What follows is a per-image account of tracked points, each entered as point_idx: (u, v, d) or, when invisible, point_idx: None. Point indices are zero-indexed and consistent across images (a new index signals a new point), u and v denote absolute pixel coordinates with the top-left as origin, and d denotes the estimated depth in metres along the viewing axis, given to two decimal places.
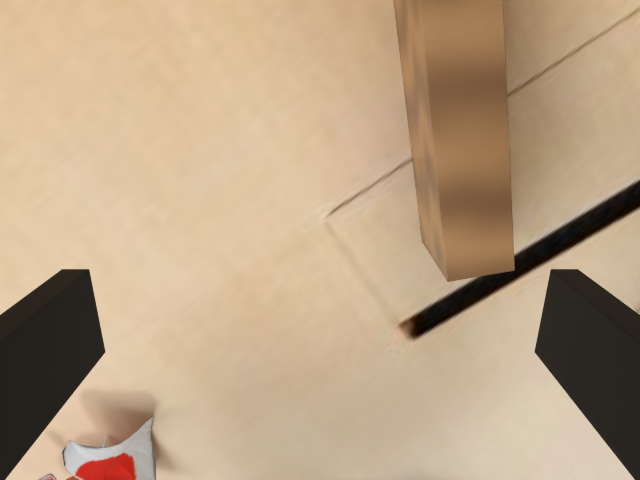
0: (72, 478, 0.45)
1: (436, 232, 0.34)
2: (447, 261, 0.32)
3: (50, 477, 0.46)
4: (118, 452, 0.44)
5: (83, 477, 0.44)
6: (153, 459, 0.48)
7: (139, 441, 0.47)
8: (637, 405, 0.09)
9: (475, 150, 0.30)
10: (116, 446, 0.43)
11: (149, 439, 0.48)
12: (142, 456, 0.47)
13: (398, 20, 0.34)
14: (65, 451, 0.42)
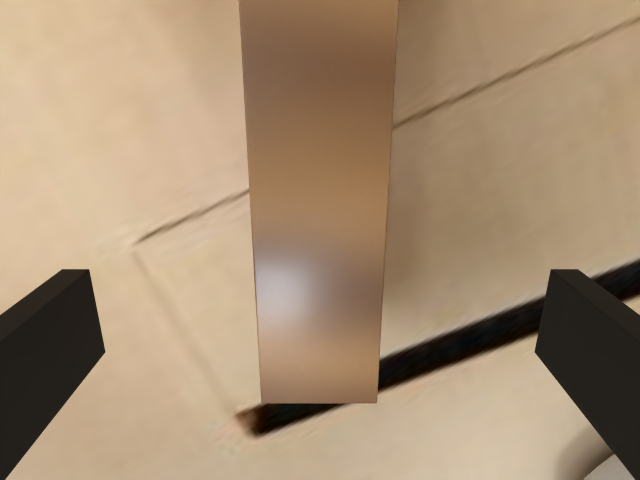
0: None
1: None
2: (263, 370, 0.18)
3: None
4: None
5: None
6: None
7: None
8: (637, 405, 0.09)
9: (324, 189, 0.16)
10: None
11: None
12: None
13: None
14: None
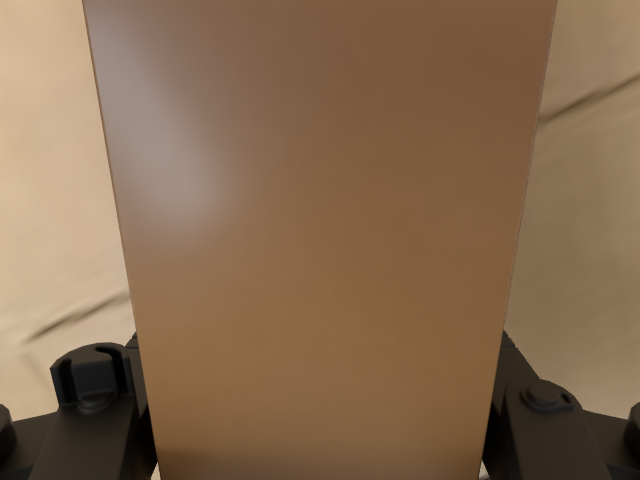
0: None
1: None
2: None
3: None
4: None
5: None
6: None
7: None
8: None
9: (333, 363, 0.06)
10: None
11: None
12: None
13: None
14: None
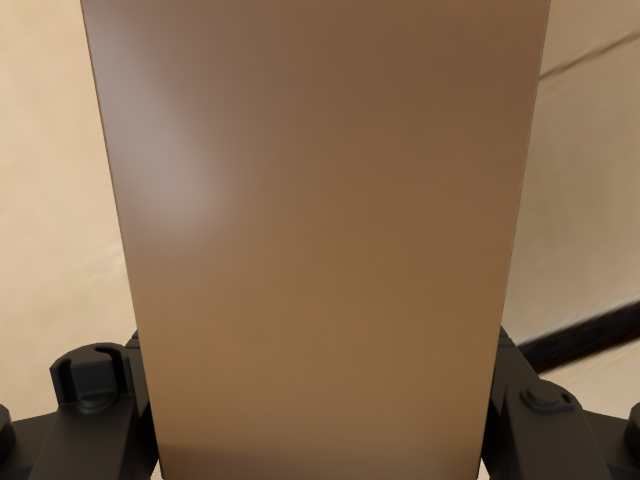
0: None
1: None
2: None
3: None
4: None
5: None
6: None
7: None
8: None
9: (332, 359, 0.06)
10: None
11: None
12: None
13: None
14: None
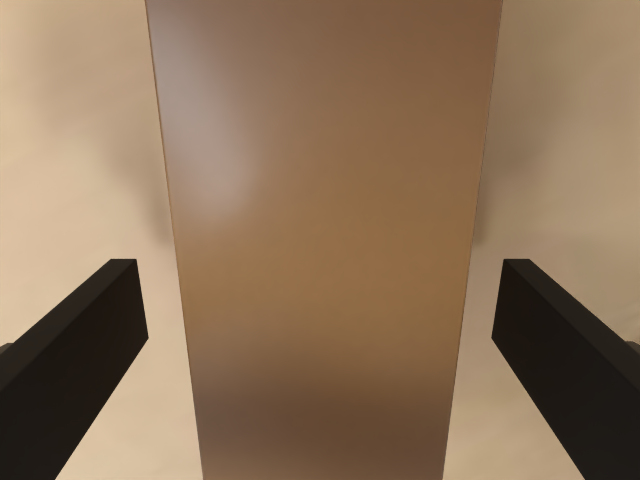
0: None
1: None
2: None
3: None
4: None
5: None
6: None
7: None
8: (567, 381, 0.10)
9: (334, 259, 0.07)
10: None
11: None
12: None
13: None
14: None
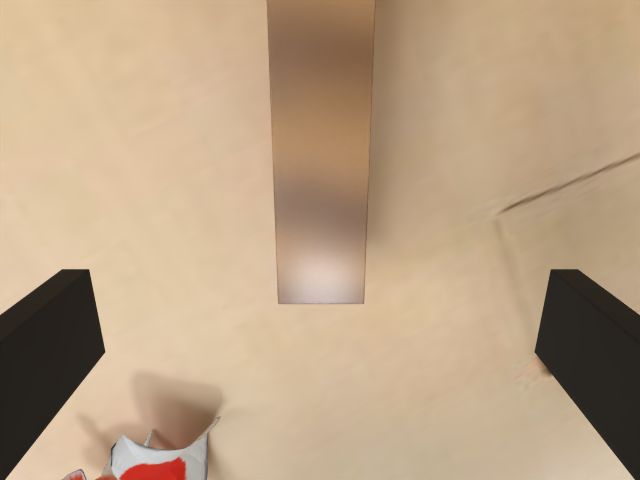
0: (107, 479, 0.36)
1: None
2: (279, 277, 0.25)
3: (79, 473, 0.36)
4: (175, 456, 0.35)
5: None
6: (205, 467, 0.39)
7: (196, 445, 0.38)
8: (637, 405, 0.09)
9: (324, 138, 0.22)
10: (179, 450, 0.34)
11: (205, 442, 0.39)
12: (195, 462, 0.38)
13: None
14: (115, 448, 0.33)
